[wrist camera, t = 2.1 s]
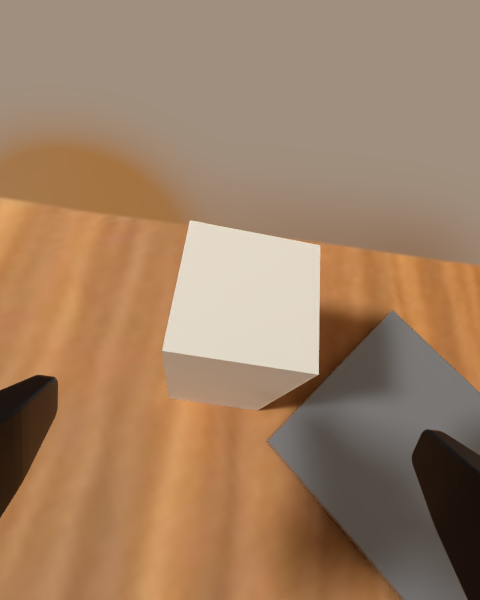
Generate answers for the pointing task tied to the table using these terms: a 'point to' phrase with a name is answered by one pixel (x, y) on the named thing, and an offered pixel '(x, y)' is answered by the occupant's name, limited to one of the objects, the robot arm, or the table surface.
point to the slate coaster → (383, 452)
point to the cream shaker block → (242, 318)
